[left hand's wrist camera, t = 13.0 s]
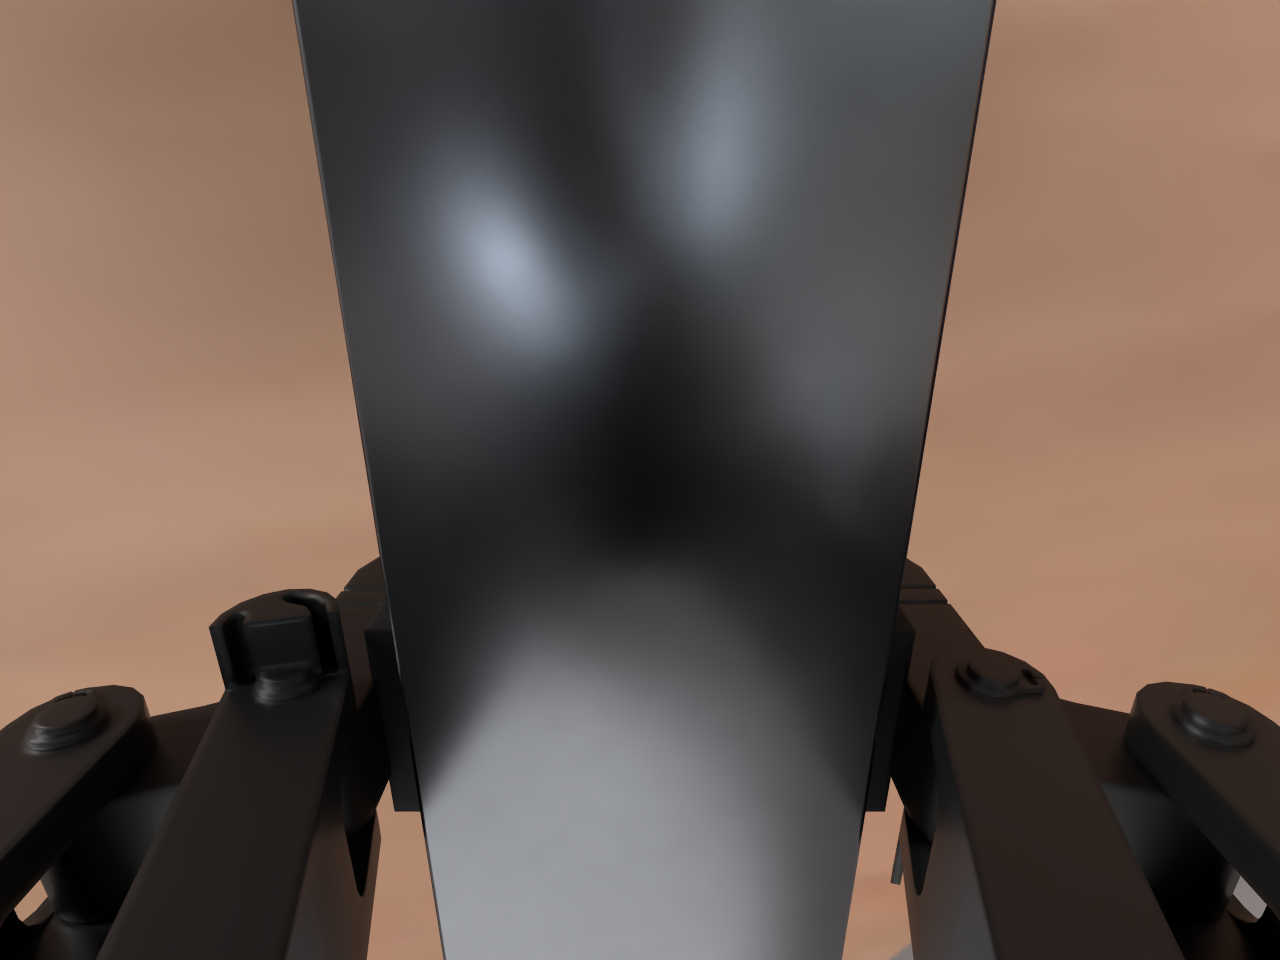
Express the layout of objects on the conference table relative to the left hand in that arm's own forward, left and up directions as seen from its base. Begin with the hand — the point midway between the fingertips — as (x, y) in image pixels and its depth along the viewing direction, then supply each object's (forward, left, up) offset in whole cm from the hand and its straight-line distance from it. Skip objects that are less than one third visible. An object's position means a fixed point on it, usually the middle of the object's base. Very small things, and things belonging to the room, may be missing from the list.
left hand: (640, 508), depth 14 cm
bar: (-8, 0, -1) cm, 8 cm away
